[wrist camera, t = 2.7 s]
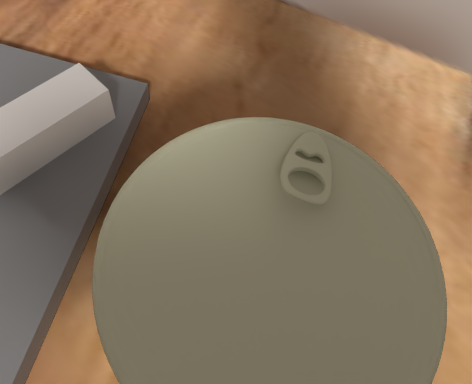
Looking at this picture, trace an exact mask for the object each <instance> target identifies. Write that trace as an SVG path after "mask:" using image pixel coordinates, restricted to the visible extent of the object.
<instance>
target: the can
mask: <svg viewBox="0 0 472 384" xmlns="http://www.w3.org/2000/svg"><path fill="white" fill-rule="evenodd" d="M92 295H93V307H94V315H95V320H96V324H97V329H98V333H99V337H100V340H101V343H102V346H103V349H104V352H105V354H106V357H107V359H108V362H109V364H110V366H111V368H112V370H113V372H114V374H115V376H116V378H117V380H118V382H119V383H120V384H431V383H432V381H433V378H434V376H435V373H436V371H437V368H438V365H439V362H440V358H441V355H442V350H443V345H444V341H445V333H446V322H447V298H446V288H445V281H444V275H443V271H442V267H441V263H440V259H439V255H438V252H437V249H436V247H435V244H434V241H433V239H432V236H431V234H430V231H429V229H428V227H427V225H426V224H425V222H424V220H423V218H422V216H421V214H420V212H419V211H418V209H417V208H416V206H415V205H414V203H413V202H412V200H411V199H410V197H409V196H408V195H407V193H406V192H405V191H404V190H403V189H402V187H401V186H400V185H399V184H398V182H397V181H396V180H395V179H394V178H393V177H392V176H391V175H390V174H389V173H388V172H387V171H386V170H385V169H384V168H383V167H382V166H381V165H379V164H378V163H377V162H376V161H375V160H374V159H372V158H371V157H370V156H369V155H367V154H366V153H364V152H363V151H362V150H360V149H359V148H357V147H356V146H354V145H352V144H351V143H349V142H347V141H345V140H343V139H342V138H340V137H338V136H336V135H334V134H332V133H329V132H327V131H325V130H323V129H320V128H317V127H314V126H311V125H308V124H304V123H300V122H296V121H292V120H285V119H279V118H270V117H244V118H234V119H228V120H222V121H218V122H214V123H210V124H207V125H204V126H201V127H198V128H195V129H193V130H191V131H188V132H186V133H184V134H182V135H180V136H178V137H176V138H175V139H173V140H171V141H169V142H168V143H166V144H165V145H163V146H162V147H161V148H159V149H158V150H156V151H155V152H154V153H153V154H151V155H150V156H149V157H148V158H147V159H146V160H145V161H143V162H142V163H141V164H140V165H139V166H138V167H137V169H136V170H135V171H134V172H133V173H132V174H131V176H130V177H129V178H128V179H127V181H126V182H125V183H124V185H123V186H122V187H121V189H120V191H119V192H118V194H117V196H116V197H115V199H114V201H113V202H112V204H111V206H110V208H109V211H108V213H107V215H106V217H105V219H104V222H103V225H102V228H101V230H100V233H99V237H98V241H97V246H96V251H95V257H94V263H93V275H92Z"/></svg>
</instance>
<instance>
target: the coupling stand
mask: <svg viewBox="0 0 472 384" xmlns="http://www.w3.org/2000/svg"><path fill="white" fill-rule="evenodd" d="M149 99H150V98H149V89H148V83H144V82H140V81H136V80H133V79H129V78H125V77H122V76H118V75H114V74H111V73H107V72H103V71H100V70H96V69H92V68H89V67H85V66H82V65H81V64H80V63H78V64H74V63H70V62H67V61H63V60H59V59H55V58H52V57H48V56H44V55H41V54H37V53H33V52H30V51H26V50H22V49H19V48H15V47H11V46H8V45H4V44H0V384H25V382H26V380H27V378H28V375H29V373H30V371H31V369H32V366H33V364H34V362H35V359H36V357H37V355H38V353H39V350H40V348H41V346H42V343H43V341H44V339H45V337H46V334H47V332H48V330H49V327H50V325H51V323H52V321H53V318H54V316H55V314H56V312H57V309H58V307H59V305H60V302H61V300H62V298H63V296H64V293H65V291H66V289H67V286H68V284H69V282H70V280H71V277H72V275H73V273H74V270H75V268H76V266H77V264H78V261H79V259H80V257H81V254H82V252H83V250H84V248H85V245H86V243H87V241H88V239H89V236H90V234H91V232H92V229H93V227H94V225H95V223H96V220H97V218H98V216H99V213H100V211H101V209H102V207H103V204H104V202H105V200H106V197H107V195H108V193H109V191H110V188H111V186H112V184H113V182H114V179H115V177H116V175H117V172H118V170H119V168H120V166H121V163H122V161H123V159H124V156H125V154H126V152H127V150H128V147H129V145H130V143H131V140H132V138H133V136H134V134H135V131H136V129H137V127H138V124H139V122H140V120H141V118H142V115H143V113H144V111H145V109H146V106H147V104H148V102H149Z"/></svg>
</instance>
